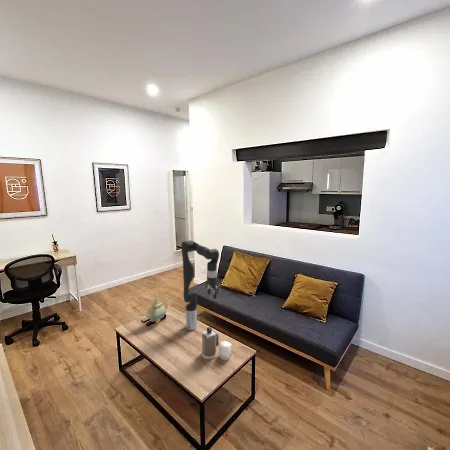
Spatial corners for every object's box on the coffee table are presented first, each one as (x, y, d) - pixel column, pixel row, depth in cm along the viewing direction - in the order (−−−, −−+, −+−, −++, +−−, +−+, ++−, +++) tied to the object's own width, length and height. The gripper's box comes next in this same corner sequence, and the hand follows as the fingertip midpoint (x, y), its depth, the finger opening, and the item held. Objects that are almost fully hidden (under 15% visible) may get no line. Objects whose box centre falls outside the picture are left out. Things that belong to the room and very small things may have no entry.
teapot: (150, 331, 207) (149, 297, 203) (142, 327, 214) (140, 293, 209) (172, 319, 226) (171, 288, 222) (164, 315, 233) (163, 285, 228)
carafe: (199, 352, 182) (198, 331, 179) (214, 346, 189) (214, 326, 186) (206, 361, 173) (206, 339, 170) (221, 354, 179) (222, 333, 177)
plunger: (205, 350, 180) (205, 328, 178) (210, 348, 182) (210, 326, 180) (208, 353, 177) (208, 330, 175) (212, 351, 179) (212, 329, 177)
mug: (216, 355, 179) (217, 343, 178) (228, 350, 184) (228, 339, 183) (223, 361, 172) (223, 349, 171) (234, 356, 178) (235, 344, 176)
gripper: (202, 273, 188) (203, 294, 191) (212, 279, 177) (212, 301, 179) (211, 272, 192) (211, 292, 195) (221, 277, 181) (221, 298, 183)
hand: (211, 296), depth 187 cm, fingers open, 8 cm apart
